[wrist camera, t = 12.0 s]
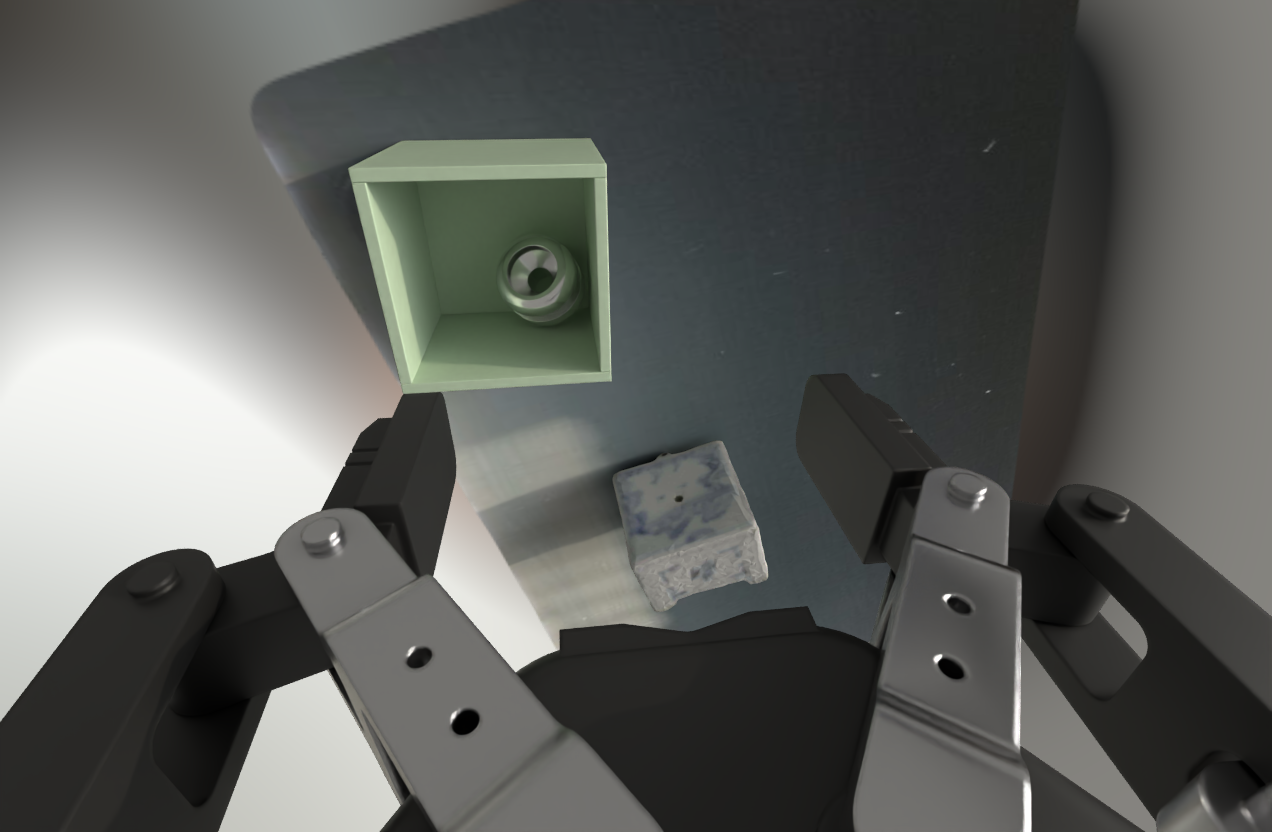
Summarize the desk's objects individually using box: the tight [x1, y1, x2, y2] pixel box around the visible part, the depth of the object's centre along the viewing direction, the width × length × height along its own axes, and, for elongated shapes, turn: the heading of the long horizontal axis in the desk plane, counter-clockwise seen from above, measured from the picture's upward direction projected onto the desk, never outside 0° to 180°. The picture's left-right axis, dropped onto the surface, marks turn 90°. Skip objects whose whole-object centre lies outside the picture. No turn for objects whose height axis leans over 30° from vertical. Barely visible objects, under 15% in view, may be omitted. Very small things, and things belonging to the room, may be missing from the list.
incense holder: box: [613, 441, 768, 612], centre depth 46 cm, size 10×8×10 cm
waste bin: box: [348, 138, 611, 394], centre depth 33 cm, size 11×11×11 cm
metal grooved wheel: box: [496, 235, 585, 326], centre depth 35 cm, size 5×3×5 cm
